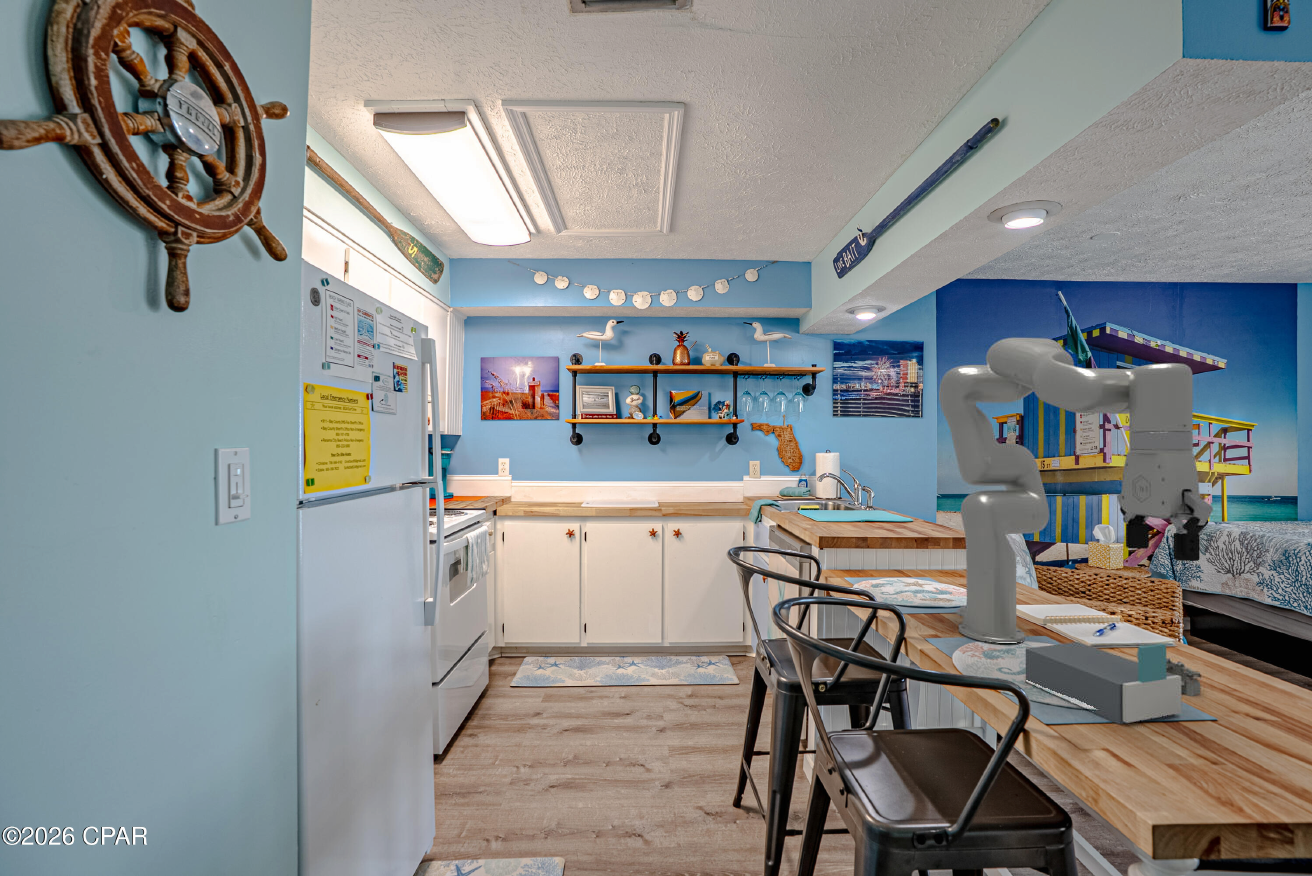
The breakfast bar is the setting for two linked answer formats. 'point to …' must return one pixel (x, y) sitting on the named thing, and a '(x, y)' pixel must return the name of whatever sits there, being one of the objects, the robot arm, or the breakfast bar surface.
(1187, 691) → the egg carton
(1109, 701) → the sleeve
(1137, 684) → the grey drawer
